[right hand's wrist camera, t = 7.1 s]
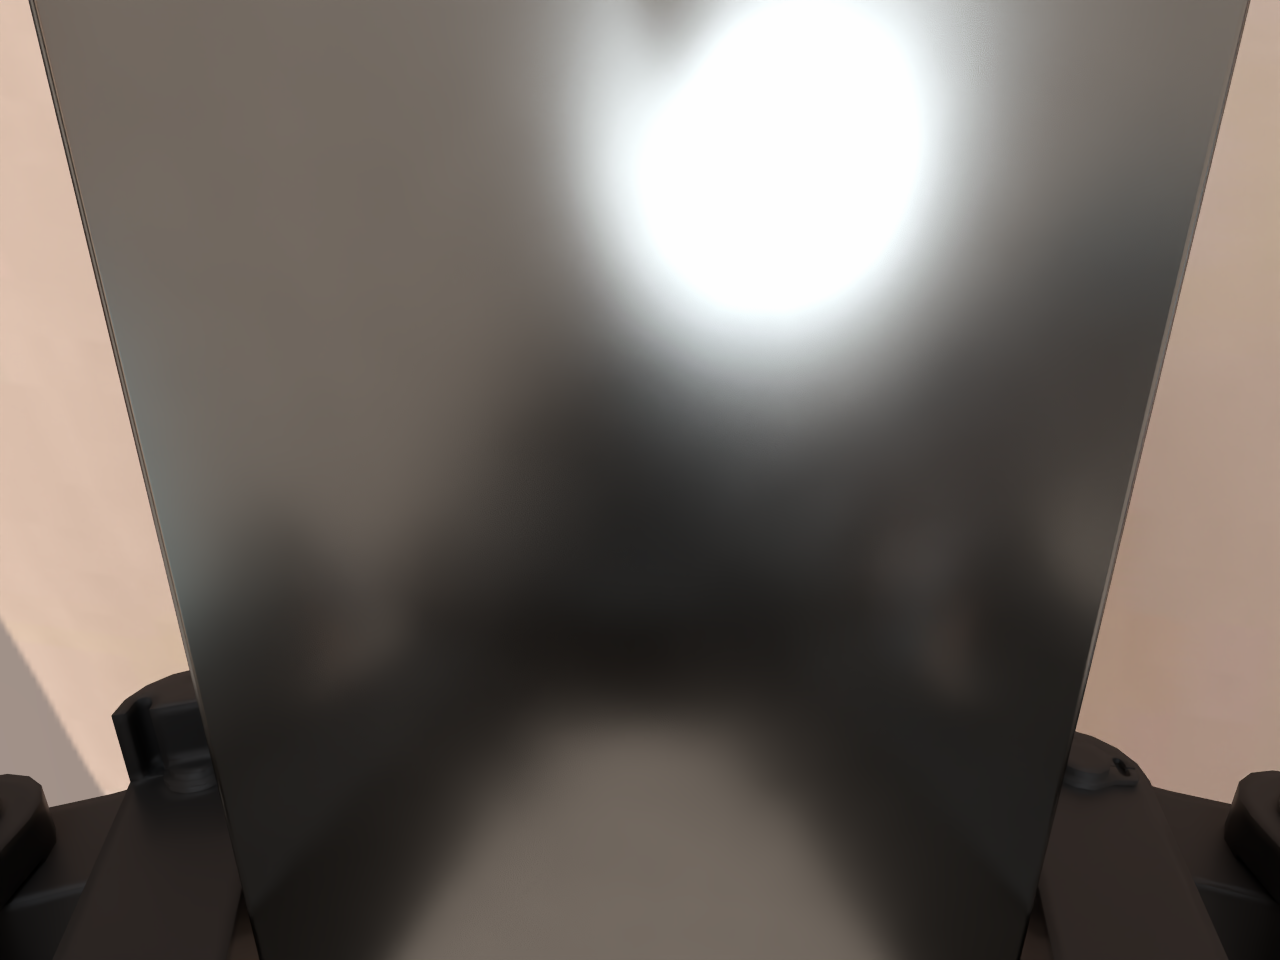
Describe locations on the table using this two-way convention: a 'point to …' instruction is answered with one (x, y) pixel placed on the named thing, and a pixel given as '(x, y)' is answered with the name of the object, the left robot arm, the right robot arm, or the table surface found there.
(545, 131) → the bar
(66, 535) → the table surface
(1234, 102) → the table surface
